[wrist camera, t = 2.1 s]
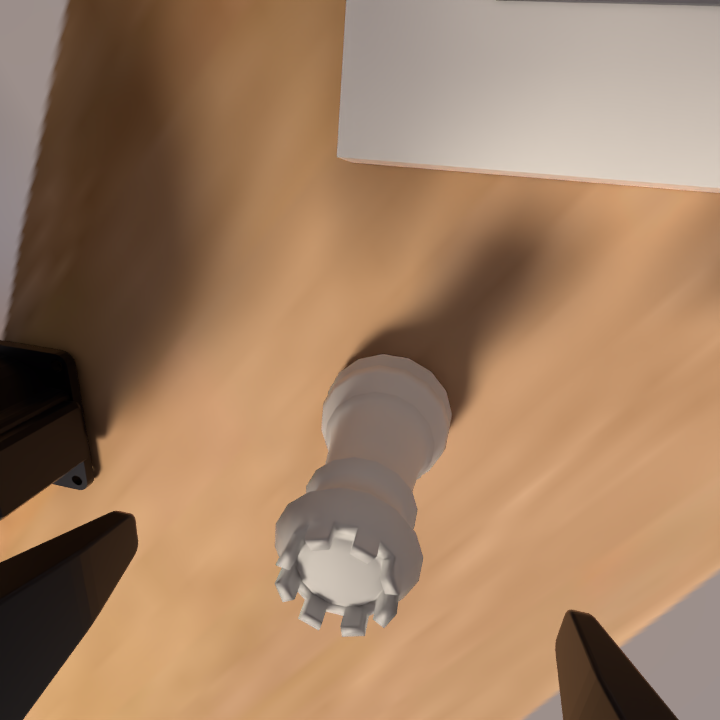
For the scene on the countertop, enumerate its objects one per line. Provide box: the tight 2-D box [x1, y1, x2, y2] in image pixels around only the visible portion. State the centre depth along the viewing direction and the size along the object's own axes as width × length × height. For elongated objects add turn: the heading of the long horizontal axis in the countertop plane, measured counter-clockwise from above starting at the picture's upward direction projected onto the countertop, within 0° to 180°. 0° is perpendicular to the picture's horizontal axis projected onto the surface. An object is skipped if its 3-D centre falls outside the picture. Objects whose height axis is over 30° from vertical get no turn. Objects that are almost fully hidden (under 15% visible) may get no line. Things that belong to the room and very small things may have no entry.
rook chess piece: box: [275, 354, 452, 637], centre depth 12 cm, size 4×4×8 cm
